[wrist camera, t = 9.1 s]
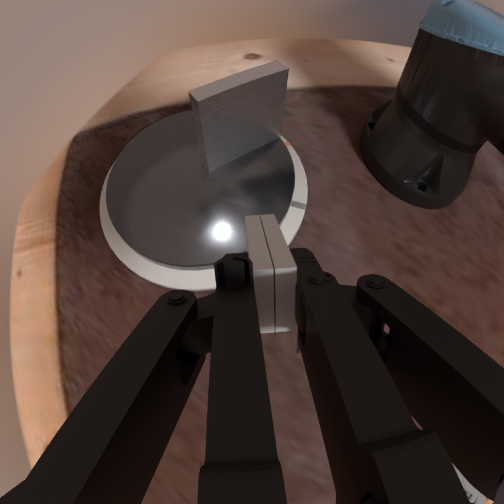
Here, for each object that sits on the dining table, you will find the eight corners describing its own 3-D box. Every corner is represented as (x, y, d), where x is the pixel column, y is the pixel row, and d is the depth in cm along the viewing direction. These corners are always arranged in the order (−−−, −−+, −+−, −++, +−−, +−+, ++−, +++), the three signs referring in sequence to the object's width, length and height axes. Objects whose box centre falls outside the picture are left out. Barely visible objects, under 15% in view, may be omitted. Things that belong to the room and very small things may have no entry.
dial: (158, 311, 25) (107, 270, 15) (91, 168, 31) (52, 104, 21) (331, 204, 29) (363, 129, 20) (229, 98, 35) (226, 28, 25)
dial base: (250, 99, 37) (250, 92, 36) (345, 234, 30) (349, 228, 28) (91, 160, 33) (87, 154, 32) (135, 328, 26) (130, 326, 25)
